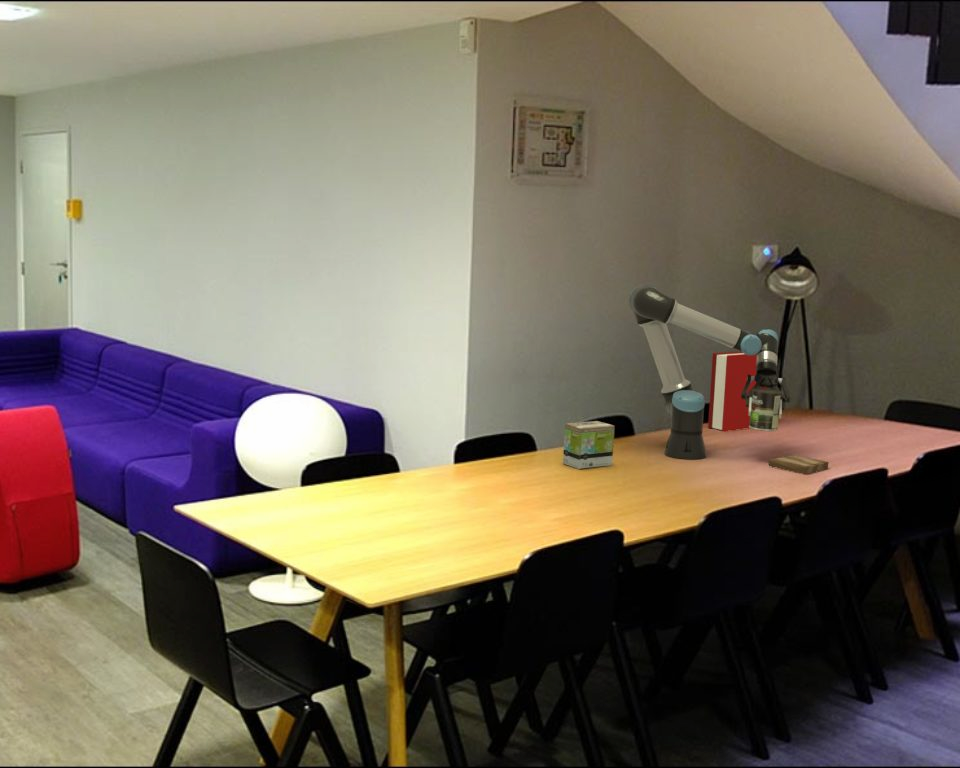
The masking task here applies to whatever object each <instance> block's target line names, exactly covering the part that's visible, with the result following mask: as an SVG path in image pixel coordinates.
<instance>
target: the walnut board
mask: <svg viewBox="0 0 960 768" xmlns="http://www.w3.org/2000/svg"><path fill="white" fill-rule="evenodd" d="M768 465H769V466H772V467H771V468H773V467H777V468H781V469H780V470H782V469H785V470H784V471H786V470H789V471H788V472H791V471H794V472H793V473H796V472H799V473H798V474H800V473H803V474H802V475H805V474H806V475H809V473H810V474H813V473H812V472H814V473H817V472H816V471H818V472H821V471H825V470H828V469H829V461H825V460H822V459H821V460H820V459H817V458H811V457H806V456H801V455H797V454H787V455H783V456H779V457H774V458H771V459H768ZM768 465H767V466H768ZM777 468H776V469H777Z"/></svg>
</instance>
